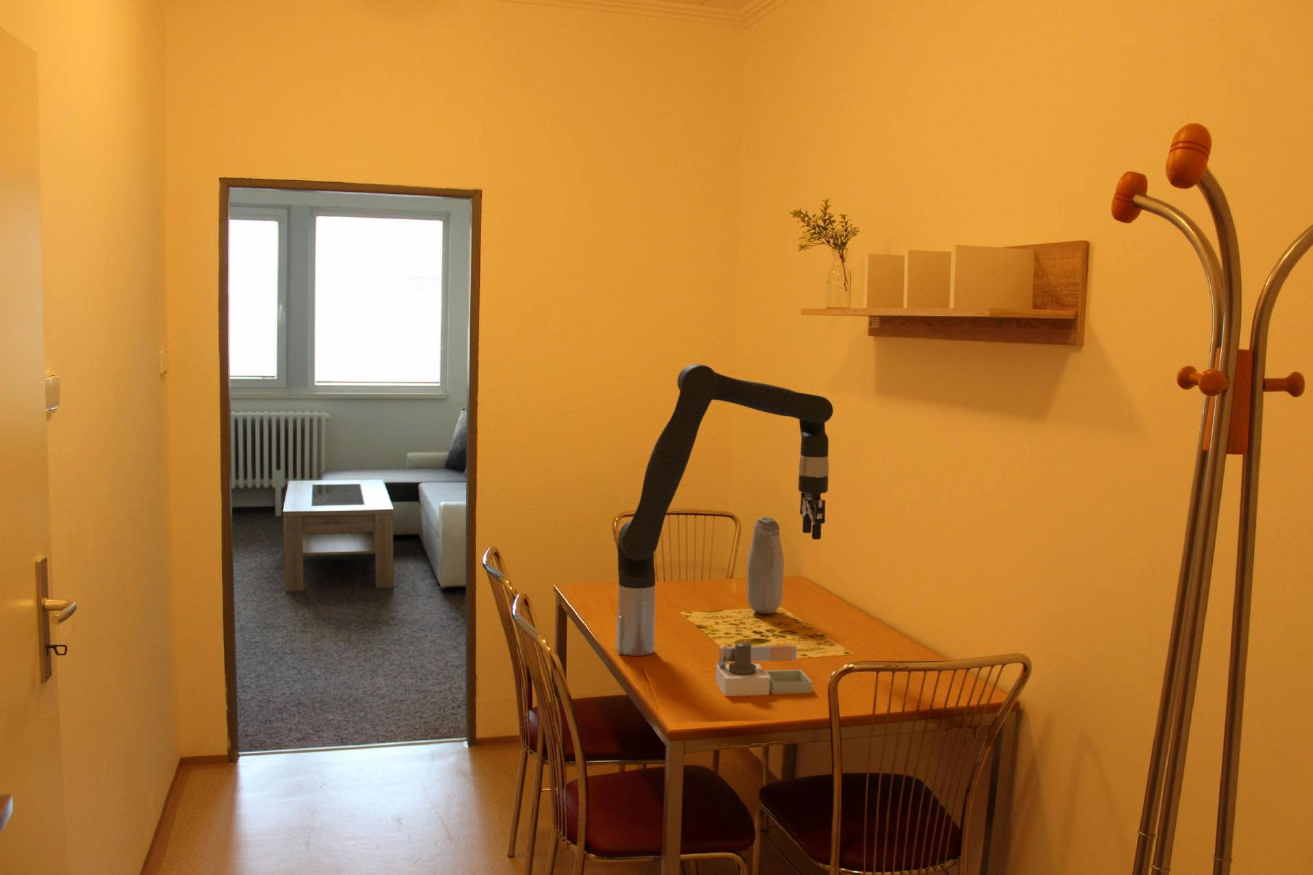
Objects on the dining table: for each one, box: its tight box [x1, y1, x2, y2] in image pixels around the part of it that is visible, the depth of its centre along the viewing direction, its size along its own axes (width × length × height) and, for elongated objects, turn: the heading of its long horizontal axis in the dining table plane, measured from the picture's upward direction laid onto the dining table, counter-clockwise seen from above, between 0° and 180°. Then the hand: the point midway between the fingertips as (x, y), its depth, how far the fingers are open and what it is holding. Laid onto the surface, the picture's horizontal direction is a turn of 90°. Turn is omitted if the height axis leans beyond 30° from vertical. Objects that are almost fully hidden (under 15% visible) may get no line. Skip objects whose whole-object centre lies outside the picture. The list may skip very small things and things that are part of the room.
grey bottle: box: [746, 517, 785, 615], centre depth 310 cm, size 10×10×28 cm
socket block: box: [715, 663, 770, 697], centre depth 240 cm, size 10×10×4 cm
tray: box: [764, 669, 813, 695], centre depth 242 cm, size 9×9×2 cm
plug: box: [728, 642, 756, 675], centre depth 240 cm, size 6×6×10 cm
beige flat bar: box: [718, 644, 797, 668], centre depth 243 cm, size 18×2×5 cm, turn 98°
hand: (811, 536), depth 275 cm, fingers open, 8 cm apart
